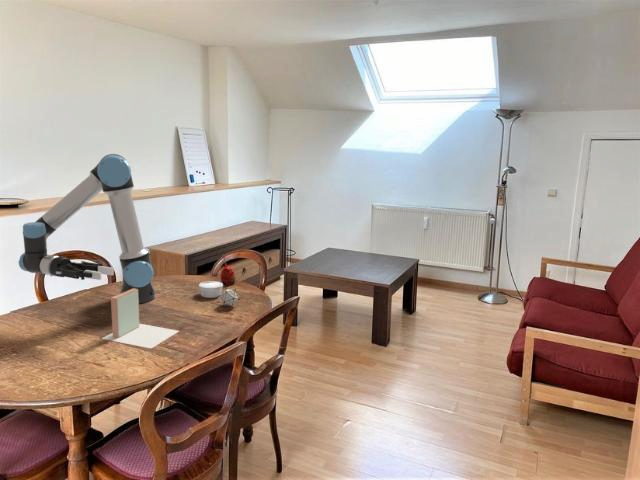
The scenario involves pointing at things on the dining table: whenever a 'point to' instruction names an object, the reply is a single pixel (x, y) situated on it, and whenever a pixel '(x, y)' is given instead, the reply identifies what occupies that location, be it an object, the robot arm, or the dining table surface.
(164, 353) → the dining table surface
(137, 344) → the rubber mat
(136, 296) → the terracotta tile
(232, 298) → the game die
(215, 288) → the ramekin
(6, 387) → the dining table surface
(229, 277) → the red clay folk toy
